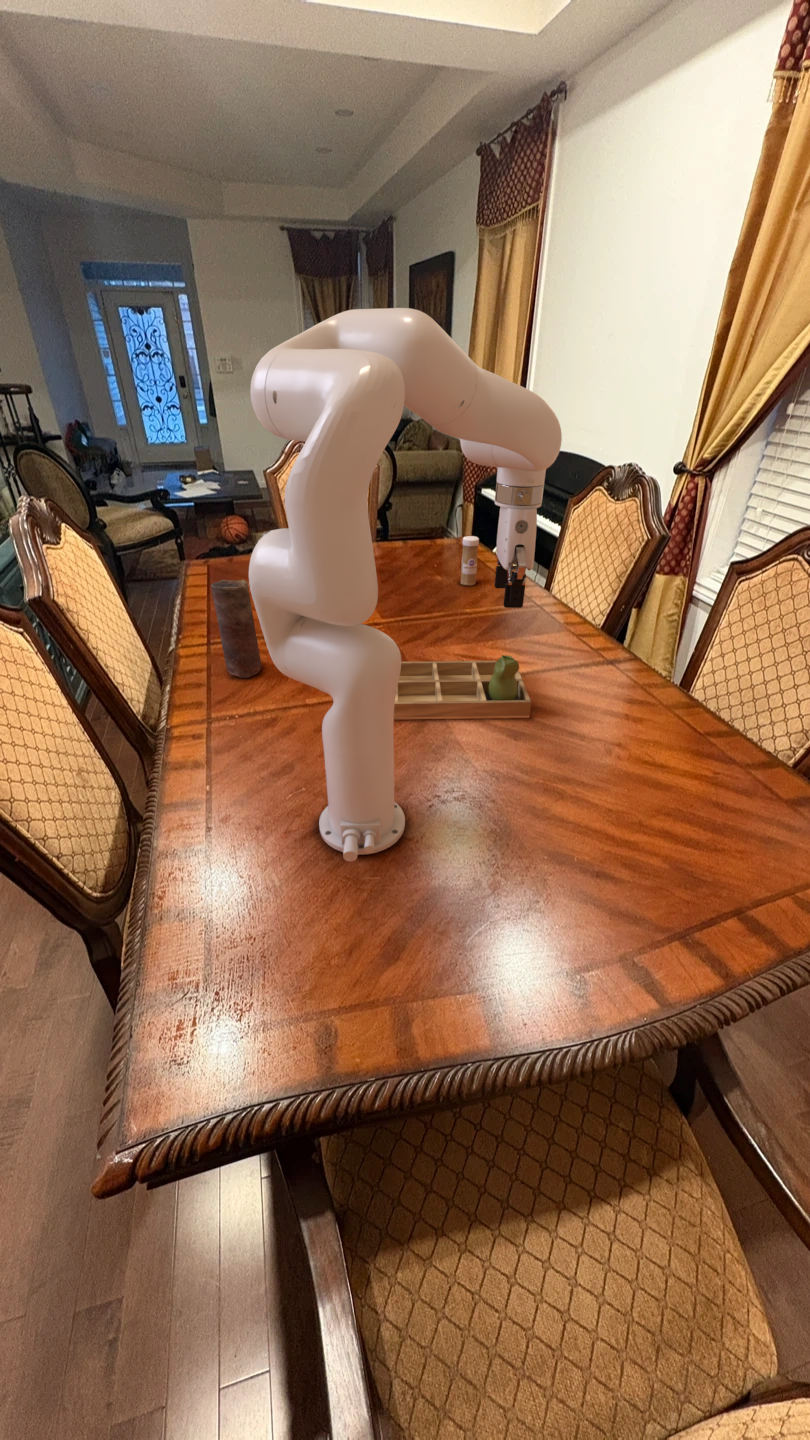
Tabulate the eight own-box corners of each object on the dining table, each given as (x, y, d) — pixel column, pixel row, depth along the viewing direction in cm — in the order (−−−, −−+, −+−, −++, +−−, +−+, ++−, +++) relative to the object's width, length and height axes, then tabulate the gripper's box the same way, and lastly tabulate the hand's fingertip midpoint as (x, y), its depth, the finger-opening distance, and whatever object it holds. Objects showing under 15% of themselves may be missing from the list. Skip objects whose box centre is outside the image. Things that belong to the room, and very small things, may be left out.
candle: (219, 674, 130) (202, 583, 119) (241, 660, 136) (228, 573, 125) (246, 682, 127) (232, 590, 116) (269, 667, 133) (257, 578, 122)
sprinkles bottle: (465, 587, 176) (468, 540, 169) (457, 582, 179) (459, 536, 172) (478, 584, 178) (482, 538, 170) (470, 580, 181) (473, 534, 174)
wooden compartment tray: (529, 717, 115) (531, 701, 113) (394, 719, 115) (394, 703, 113) (512, 674, 130) (514, 660, 128) (393, 676, 129) (392, 661, 127)
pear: (503, 693, 122) (507, 648, 116) (522, 704, 118) (527, 658, 113) (482, 702, 119) (486, 655, 114) (501, 713, 115) (505, 666, 110)
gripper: (554, 506, 90) (539, 615, 99) (531, 485, 105) (519, 581, 114) (504, 506, 90) (494, 615, 99) (487, 484, 105) (480, 581, 114)
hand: (507, 597), depth 106 cm, fingers open, 9 cm apart
